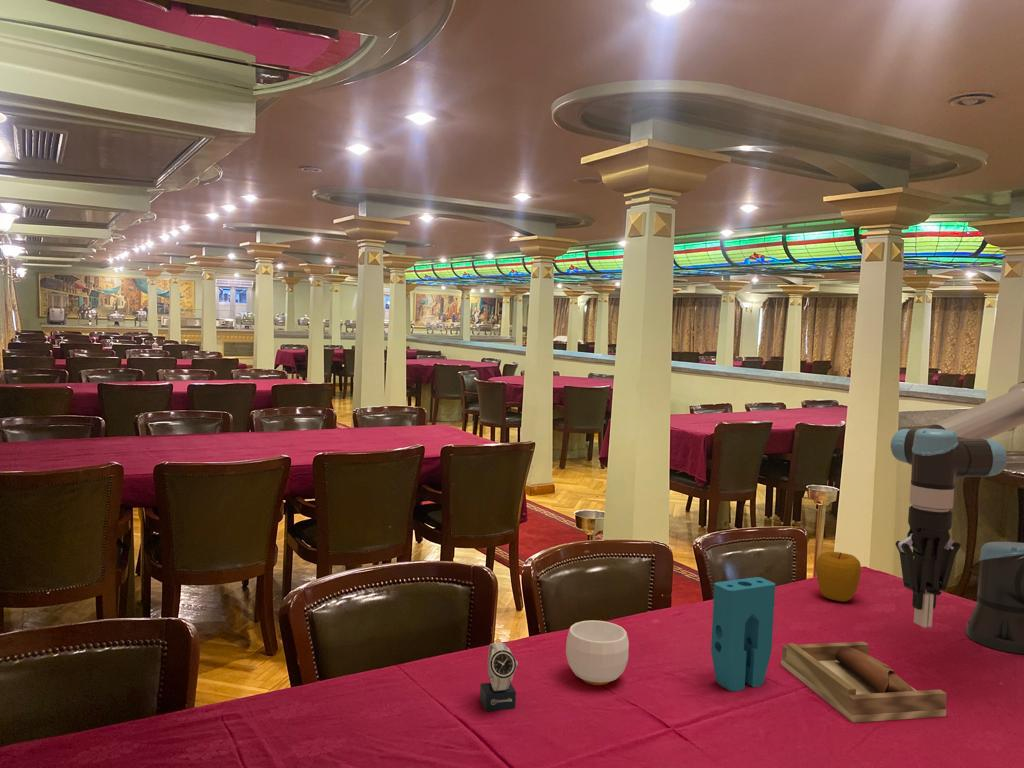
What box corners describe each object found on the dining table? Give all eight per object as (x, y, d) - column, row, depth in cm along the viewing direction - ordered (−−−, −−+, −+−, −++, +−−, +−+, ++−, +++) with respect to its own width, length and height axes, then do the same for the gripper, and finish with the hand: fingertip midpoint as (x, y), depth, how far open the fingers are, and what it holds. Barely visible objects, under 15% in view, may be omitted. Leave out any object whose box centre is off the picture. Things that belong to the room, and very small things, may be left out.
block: (754, 672, 153) (759, 576, 152) (772, 683, 149) (777, 584, 147) (707, 682, 148) (712, 583, 147) (724, 693, 144) (729, 591, 142)
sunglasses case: (927, 700, 140) (912, 671, 139) (895, 720, 139) (880, 690, 138) (872, 659, 157) (858, 633, 157) (844, 676, 157) (830, 650, 156)
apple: (819, 604, 195) (822, 556, 194) (810, 591, 206) (812, 544, 205) (864, 608, 193) (867, 559, 193) (852, 594, 204) (855, 548, 203)
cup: (639, 679, 148) (642, 631, 148) (602, 700, 139) (605, 649, 139) (589, 659, 157) (591, 614, 156) (552, 678, 148) (553, 630, 147)
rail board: (862, 660, 161) (863, 636, 161) (945, 716, 137) (947, 688, 137) (781, 664, 158) (782, 640, 157) (852, 722, 134) (854, 694, 134)
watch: (488, 717, 132) (490, 655, 131) (477, 695, 139) (479, 637, 139) (518, 713, 133) (520, 653, 133) (506, 692, 141) (508, 635, 140)
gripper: (946, 503, 153) (938, 616, 154) (887, 503, 150) (879, 618, 152) (975, 511, 145) (966, 630, 147) (913, 512, 143) (905, 633, 144)
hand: (922, 624), depth 149 cm, fingers closed
